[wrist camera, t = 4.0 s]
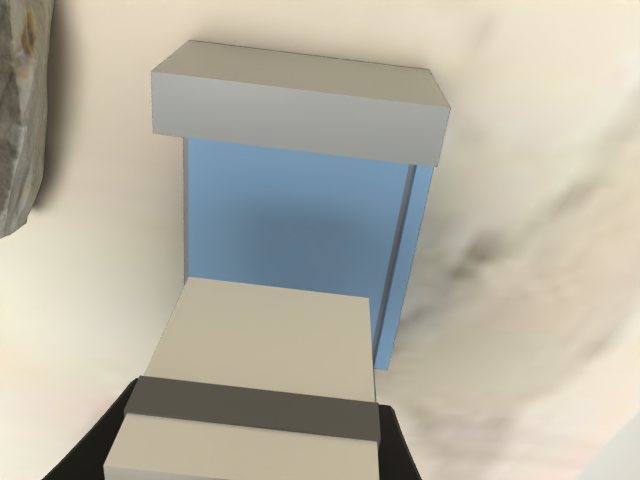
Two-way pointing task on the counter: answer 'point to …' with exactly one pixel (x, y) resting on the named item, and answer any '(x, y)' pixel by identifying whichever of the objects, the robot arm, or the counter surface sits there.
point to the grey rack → (303, 170)
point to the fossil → (22, 106)
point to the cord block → (254, 390)
